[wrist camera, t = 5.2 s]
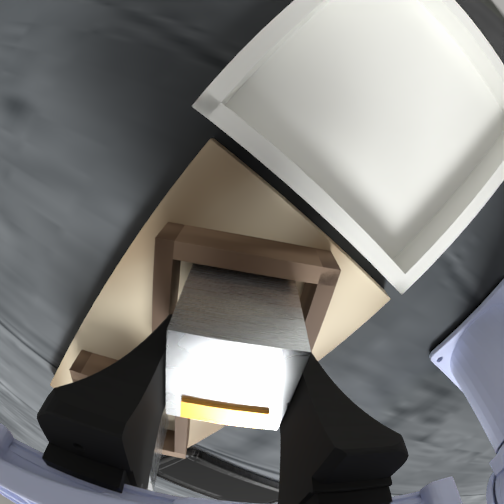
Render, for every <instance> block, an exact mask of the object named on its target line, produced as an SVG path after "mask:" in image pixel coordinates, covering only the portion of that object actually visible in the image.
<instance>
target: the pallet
mask: <svg viewBox="0 0 504 504" xmlns="http://www.w3.org/2000/svg"><path fill="white" fill-rule="evenodd" d="M193 263H196V264H202V265H207V266H213V267H219V268H224V269H230V270H236V271H242V272H247V273H253V274H259V275H265V276H271V277H277V278H283V279H289V280H295V282H296V286H297V290H298V295H299V299H300V304H301V308H302V313H303V317H304V322H305V326H306V331H307V336H308V340H309V345H310V350H311V352H312V354H313V355H314V357H315V358H316V360H317V361H319V360H320V359H321V358H323V357H324V356H325V355H326V354H328V353H329V352H330V351H331V350H333V349H334V348H335V347H336V346H338V345H339V344H340V343H341V342H342V341H344V340H345V339H346V338H347V337H348V336H350V335H351V334H352V333H353V332H354V331H356V330H357V329H358V328H359V327H360V326H361V325H362V324H364V323H365V322H366V321H367V320H368V319H369V318H370V317H372V316H373V315H374V314H375V313H376V312H377V311H378V310H379V309H380V308H382V307H383V306H384V305H385V304H386V303H387V302H388V301H389V300H390V298H389V296H388V295H387V293H386V292H385V290H384V289H383V288H382V287H381V286H380V285H379V284H378V283H377V282H376V281H375V280H374V279H373V278H372V277H371V276H370V275H369V274H368V273H367V272H366V271H365V270H363V269H362V268H361V267H360V266H359V265H358V264H357V263H356V262H355V261H354V260H353V259H352V258H351V257H350V256H349V255H348V254H347V253H346V252H345V251H344V250H342V249H341V248H340V247H339V246H338V245H337V244H336V243H335V242H334V241H333V240H332V239H331V238H330V237H328V236H327V235H326V234H325V233H324V232H323V231H322V230H321V229H320V228H319V227H318V226H316V225H315V224H314V223H313V222H312V221H311V220H310V219H309V218H308V217H306V216H305V215H304V214H303V213H302V212H301V211H300V210H299V209H297V208H296V207H295V206H294V205H293V204H292V203H291V202H290V201H288V200H287V199H286V198H285V197H284V196H283V195H281V194H280V193H279V192H278V191H277V190H276V189H275V188H273V187H272V186H271V185H270V184H269V183H268V182H266V181H265V180H264V179H263V178H262V177H260V176H259V175H258V174H257V173H256V172H255V171H253V170H252V169H251V168H250V167H249V166H247V165H246V164H245V163H244V162H242V161H241V160H240V159H239V158H238V157H236V156H235V155H234V154H233V153H232V152H230V151H229V150H228V149H227V148H225V147H224V146H223V145H222V144H220V143H219V142H218V141H217V140H215V139H214V138H211V139H210V140H209V141H208V142H207V143H206V145H205V146H204V147H203V148H202V149H201V151H200V152H199V153H198V154H197V156H196V157H195V158H194V159H193V161H192V162H191V163H190V164H189V166H188V167H187V168H186V169H185V171H184V172H183V173H182V175H181V176H180V177H179V179H178V180H177V181H176V182H175V184H174V185H173V186H172V188H171V189H170V190H169V192H168V193H167V194H166V196H165V197H164V198H163V200H162V201H161V203H160V204H159V205H158V207H157V208H156V209H155V211H154V212H153V214H152V215H151V216H150V218H149V219H148V221H147V222H146V223H145V225H144V226H143V228H142V229H141V231H140V232H139V234H138V235H137V236H136V238H135V239H134V241H133V242H132V244H131V245H130V247H129V248H128V250H127V251H126V253H125V254H124V256H123V257H122V259H121V260H120V262H119V264H118V265H117V267H116V268H115V270H114V271H113V273H112V275H111V276H110V278H109V279H108V281H107V283H106V284H105V286H104V287H103V289H102V291H101V292H100V294H99V296H98V297H97V299H96V301H95V302H94V304H93V306H92V307H91V309H90V311H89V312H88V314H87V316H86V318H85V319H84V321H83V323H82V325H81V326H80V328H79V330H78V332H77V334H76V335H75V337H74V339H73V341H72V343H71V345H70V347H69V348H68V350H67V352H66V354H65V356H64V358H63V360H62V362H61V364H60V366H59V368H58V370H57V372H56V374H55V376H54V378H53V380H52V382H51V384H50V385H51V386H52V387H53V388H55V387H59V386H63V385H66V384H69V383H73V382H76V381H78V380H81V379H84V378H86V377H88V376H90V375H93V374H95V373H97V372H99V371H101V370H103V369H105V368H106V367H108V366H110V365H111V364H113V363H115V362H116V361H118V360H119V359H121V358H122V357H124V356H125V355H127V354H128V353H129V352H131V351H132V350H133V349H134V348H135V347H137V346H138V345H139V344H140V343H142V342H143V341H144V340H145V339H146V338H147V337H148V336H149V335H150V334H151V333H152V332H153V331H154V330H155V329H156V328H157V327H158V326H159V325H160V324H161V323H162V322H163V321H164V320H165V319H166V317H167V316H168V315H170V314H173V312H174V310H175V307H176V305H177V302H178V300H179V297H180V295H181V292H182V290H183V287H184V285H185V282H186V280H187V277H188V275H189V272H190V270H191V268H192V265H193ZM168 422H169V424H168V428H167V433H166V437H165V441H164V445H163V450H162V454H163V455H168V456H173V457H178V458H183V459H185V458H186V452H187V448H189V447H190V446H192V445H194V444H196V443H197V442H199V441H201V440H203V439H204V438H206V437H208V436H209V435H211V434H213V433H214V432H216V431H218V430H219V429H221V428H223V427H224V426H226V424H219V423H212V422H206V421H200V420H194V419H189V418H184V417H179V416H174V415H169V414H168Z"/></svg>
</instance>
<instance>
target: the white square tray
mask: <svg viewBox="0 0 504 504" xmlns="http://www.w3.org/2000/svg"><path fill="white" fill-rule="evenodd" d="M192 107H193V108H194V109H196V110H197V111H198V112H200V113H201V114H202V115H204V116H205V117H206V118H207V119H209V120H210V121H211V122H213V123H214V124H215V125H216V126H218V127H219V128H220V129H221V130H223V131H224V132H225V133H226V134H228V135H229V136H230V137H231V138H233V139H234V140H235V141H236V142H237V143H239V144H240V145H241V146H242V147H244V148H245V149H246V150H247V151H248V152H250V153H251V154H252V155H253V156H254V157H256V158H257V159H258V160H259V161H260V162H262V163H263V164H264V165H265V166H266V167H267V168H269V169H270V170H271V171H272V172H273V173H274V174H276V175H277V176H278V177H279V178H280V179H281V180H282V181H284V182H285V183H286V184H287V185H288V186H289V187H290V188H292V189H293V190H294V191H295V192H296V193H297V194H298V195H299V196H301V197H302V198H303V199H304V200H305V201H306V202H307V203H308V204H309V205H311V206H312V207H313V208H314V209H315V210H316V211H317V212H318V213H319V214H320V215H321V216H322V217H324V218H325V219H326V220H327V221H328V222H329V223H330V224H331V225H332V226H333V227H334V228H335V229H336V230H337V231H338V232H340V233H341V234H342V235H343V236H344V237H345V238H346V239H347V240H348V241H349V242H350V243H351V244H352V245H353V246H354V247H355V248H356V249H357V250H358V251H359V252H360V253H361V254H362V255H363V256H364V257H365V258H366V259H367V260H368V261H369V262H370V263H371V264H372V265H373V266H374V267H375V268H376V269H377V270H378V271H379V272H380V273H381V274H382V275H383V276H384V277H385V278H386V279H387V280H388V281H389V282H390V283H391V284H392V285H393V286H394V287H395V288H396V289H397V290H398V291H399V292H400V293H401V295H402V294H403V293H404V292H405V291H406V290H407V289H408V288H409V287H410V286H411V285H412V284H413V283H414V282H415V281H416V280H417V279H418V278H419V277H420V276H421V275H422V274H423V273H424V272H425V271H426V270H427V269H428V268H429V267H430V266H431V265H432V264H433V263H434V262H435V261H436V260H437V259H438V258H439V257H440V256H441V255H442V253H443V252H444V251H445V250H446V249H447V248H448V247H449V246H450V245H451V244H452V243H453V241H454V240H455V239H456V238H457V237H458V236H459V235H460V234H461V232H462V231H463V230H464V229H465V228H466V227H467V225H468V224H469V223H470V222H471V221H472V220H473V218H474V217H475V216H476V215H477V214H478V212H479V211H480V210H481V209H482V207H483V206H484V205H485V204H486V202H487V201H488V200H489V199H490V197H491V196H492V195H493V194H494V192H495V191H496V190H497V188H498V187H499V186H500V184H501V183H502V182H503V180H504V64H503V63H502V61H501V60H500V58H499V57H498V55H497V54H496V52H495V51H494V49H493V48H492V46H491V45H490V44H489V42H488V41H487V39H486V38H485V37H484V35H483V34H482V33H481V31H480V30H479V29H478V27H477V26H476V25H475V24H474V22H473V21H472V20H471V19H470V17H469V16H468V15H467V14H466V13H465V11H464V10H463V9H462V8H461V7H460V5H459V4H458V3H457V2H456V1H455V0H294V1H293V2H292V3H291V4H289V5H288V6H287V7H286V8H285V9H284V10H283V11H282V12H280V13H279V14H278V15H277V16H276V17H275V18H274V19H273V20H272V21H271V22H270V23H269V24H267V25H266V26H265V27H264V28H263V29H262V30H261V31H260V32H259V33H258V34H257V35H256V36H255V37H254V38H253V39H252V40H251V41H250V42H249V43H248V44H247V45H246V46H245V47H244V48H243V49H242V50H241V51H240V52H239V53H238V54H237V55H236V56H235V57H234V58H233V60H232V61H231V62H230V63H229V64H228V65H227V66H226V67H225V68H224V69H223V70H222V71H221V73H220V74H219V75H218V76H217V77H216V78H215V79H214V80H213V81H212V83H211V84H210V85H209V86H208V87H207V88H206V89H205V91H204V92H203V93H202V94H201V95H200V96H199V98H198V99H197V100H196V101H195V102H194V104H193V105H192Z"/></svg>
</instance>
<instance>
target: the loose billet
mask: <svg viewBox="0 0 504 504" xmlns="http://www.w3.org/2000/svg"><path fill="white" fill-rule="evenodd" d="M310 353H311V350H310V345H309V340H308V336H307V331H306V326H305V322H304V317H303V313H302V308H301V304H300V299H299V295H298V290H297V286H296V282H295V280H289V279H283V278H277V277H271V276H265V275H259V274H253V273H247V272H242V271H236V270H230V269H224V268H219V267H213V266H207V265H202V264H196V263H193V265H192V268H191V270H190V272H189V275H188V277H187V280H186V282H185V285H184V287H183V290H182V292H181V295H180V297H179V300H178V302H177V305H176V307H175V310H174V312H173V315H172V318H171V320H170V323H169V325H168V328H167V341H166V414H169V415H174V416H179V417H184V418H189V419H194V420H200V421H206V422H212V423H219V424H226V425H233V426H241V427H250V428H259V429H271V430H277V429H278V427H279V425H280V423H281V421H282V419H283V416H284V414H285V412H286V410H287V408H288V405H289V403H290V401H291V399H292V396H293V394H294V392H295V389H296V387H297V385H298V382H299V380H300V378H301V375H302V373H303V370H304V368H305V366H306V363H307V361H308V358H309V356H310Z"/></svg>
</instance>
